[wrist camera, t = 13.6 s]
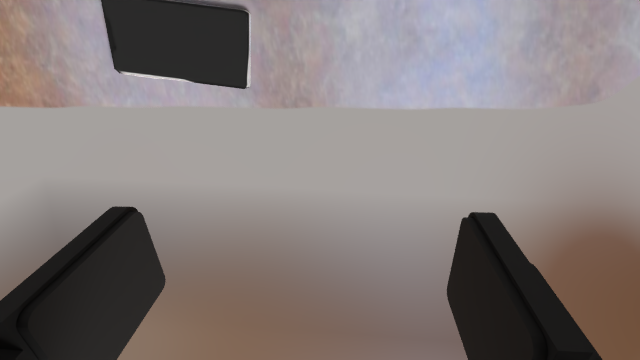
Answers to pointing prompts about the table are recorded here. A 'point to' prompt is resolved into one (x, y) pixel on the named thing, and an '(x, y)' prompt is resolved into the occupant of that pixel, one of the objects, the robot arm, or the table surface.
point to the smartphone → (180, 41)
